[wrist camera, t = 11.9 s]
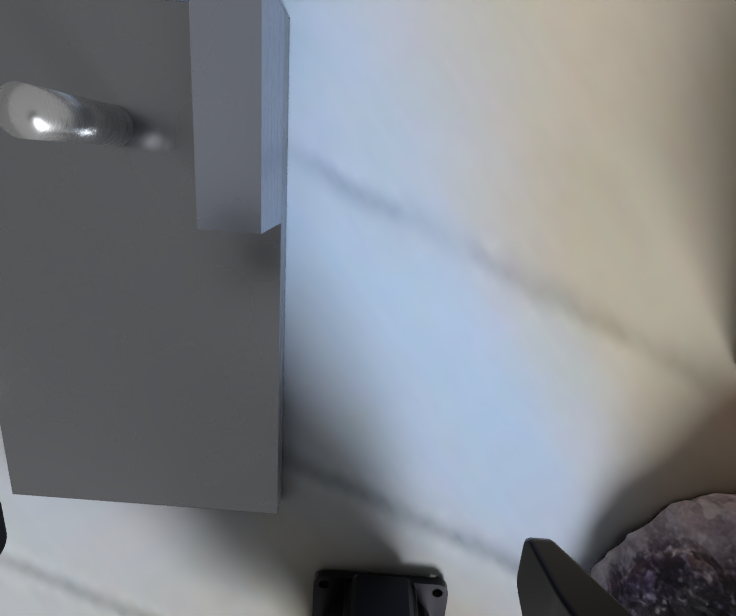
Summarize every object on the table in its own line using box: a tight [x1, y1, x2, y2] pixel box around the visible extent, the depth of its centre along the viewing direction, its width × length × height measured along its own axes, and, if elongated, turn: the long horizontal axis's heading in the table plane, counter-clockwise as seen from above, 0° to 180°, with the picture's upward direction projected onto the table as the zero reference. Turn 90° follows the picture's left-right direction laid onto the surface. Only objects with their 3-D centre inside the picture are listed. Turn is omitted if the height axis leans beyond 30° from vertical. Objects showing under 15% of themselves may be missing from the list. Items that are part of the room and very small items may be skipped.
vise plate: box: [0, 0, 290, 514], centre depth 17 cm, size 20×12×6 cm, turn 176°
